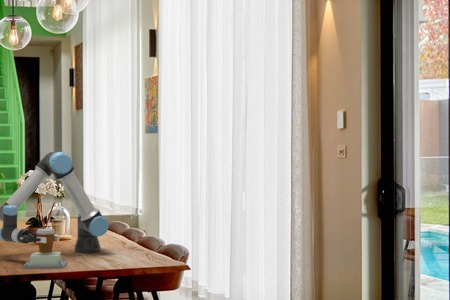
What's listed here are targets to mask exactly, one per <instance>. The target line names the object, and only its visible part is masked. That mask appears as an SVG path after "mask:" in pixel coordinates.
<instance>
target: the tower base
mask: <svg viewBox="0 0 450 300" xmlns="http://www.w3.org/2000/svg"><path fill="white" fill-rule="evenodd" d="M67 263H68V259H67V258H62V252H61V251H52V252H51V253H40V252H39V251H33V252H32V254H30V256H29V259H28V260H27V261H26V262H25V263H24V264H23V266H22V268H23V270H27V269H28V270H45V269H46V270H47V269H53V270H54V269H55V270H56V269H58V270H59V269H61V270H62V269H65V267H66V265H67Z"/></svg>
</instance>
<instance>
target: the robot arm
mask: <svg viewBox="0 0 450 300" xmlns="http://www.w3.org/2000/svg"><path fill="white" fill-rule="evenodd" d="M34 168H35V169H34V170H33V171H32V172H31V174H30V175H29V176H28V177H27V178H26V179H25V180H24V182H22V184H21V185H20V186H19V187H18V188H17V189H16V191H14V192H13V194H12V195H11V196H10V197H9V198H8V199H7V200H6V201H5V202H4V203H3V204H2V205H1V206H0V221H2V227H1V228H0V240H1V241H4V242H8V243H9V242H10V243H17V244H18V245H19V244H26V245H27V244H29V243H33V244H36V243H38V242H40V243H46V238H45V237H38V235H37V232H32V231H31V230H30V229H26V228H20V227H19V228H18V209H19V208H20V207H21V206H22V205H23V204H24V203H25V202H26V200H27V199H28V198H29V197H30V196H31V195H32V194H33V193H34V192H35V191H36V190H37V188H38V187H39V186H40V185H41V184H42V183H43V182H44V180H45V179H48V178H50V177H51V176H52V175H53V176H54V178H55V180H56V181H60V183H61V184H62V186H63V188H64V189H65V191H66V192H67V195H68V196H69V197H70V199H71V201H72V203H73V204H74V206H75V207H76V210H77V211H78V213H77V218H76V219H77V240H76V241H75V245H74V250H73V251H74V252H76V253H87V254H88V253H98V252H101V243H100V241H99V237H102V236H104V235H105V234H106V233H107V232H108V230H109V226H110V224H109V221H108V219H107V217H105V216H103V214H102V213H101V211H100V210H99V208H95V205H93V203H92V202H91V199H90V197H89V196H88V195H87V193H86V191H85V189H84V188H83V186H82V184H81V182H80V181H79V179H78V178H77V176H76V174H75V170H76V169H75V167H74V166H73V159H72V158H71V156H69V154H68V153H65V152H62V151H51V152H48V153H46V154H45V155H44V157H42V158H41V160H40V161H39V162H38V163H37V164H36V165H35V167H34ZM54 241H55V242H60V235H55V234H54V240H53V242H54Z"/></svg>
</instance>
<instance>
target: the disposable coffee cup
mask: <svg viewBox="0 0 450 300" xmlns="http://www.w3.org/2000/svg"><path fill="white" fill-rule="evenodd" d="M36 233H37V235H38V237H45V238H46V243H40V242H37V243H38V248H39V249H38V250H39V251H38V252H40V253H51V252H53V246H54V241H53V240H54V235H55V233H56V231H55V228H46V227H45V228H38V229H37V230H36Z"/></svg>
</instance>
